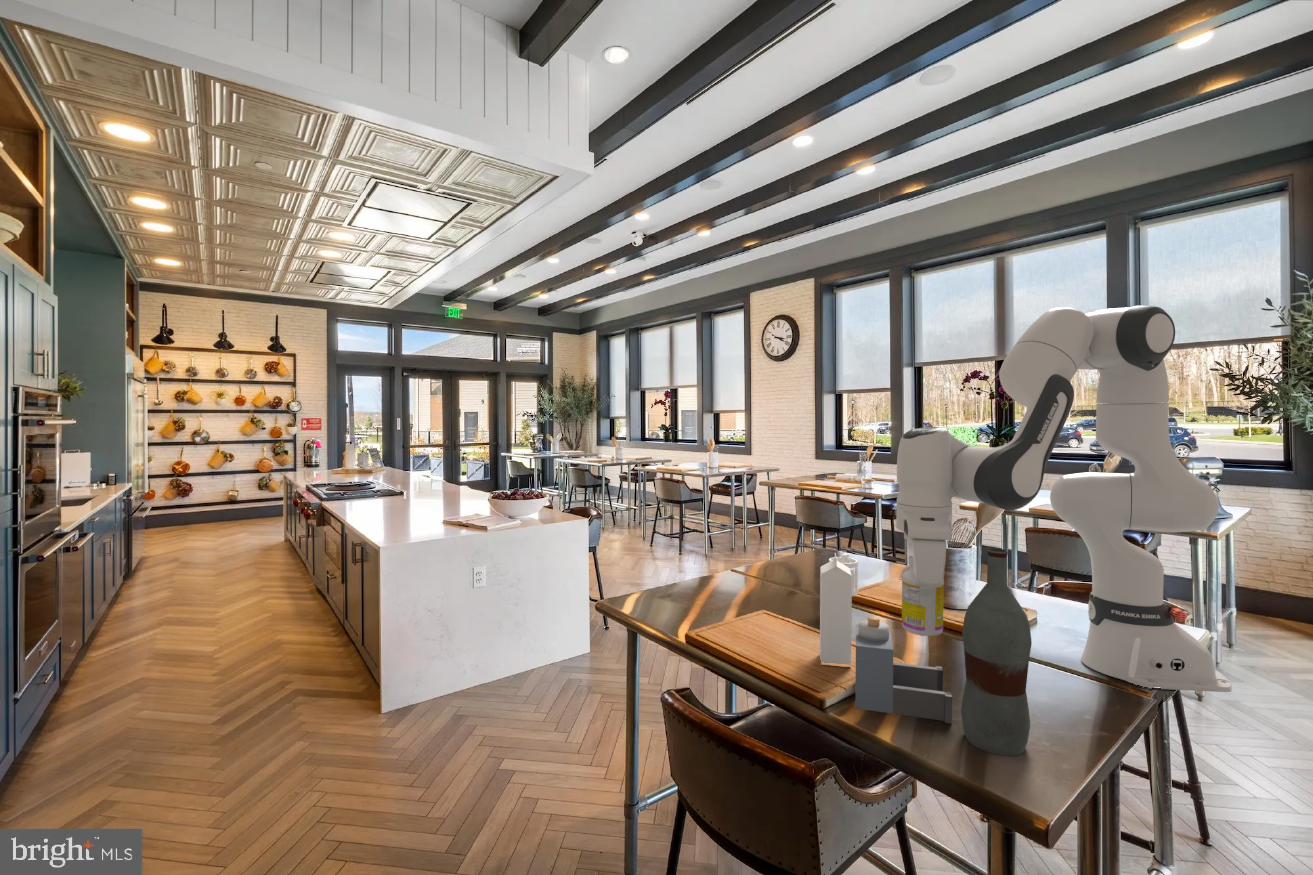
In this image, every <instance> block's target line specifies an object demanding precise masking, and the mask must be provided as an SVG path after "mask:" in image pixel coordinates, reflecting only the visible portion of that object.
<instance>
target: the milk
mask: <svg viewBox="0 0 1313 875" xmlns="http://www.w3.org/2000/svg"><path fill="white" fill-rule="evenodd" d="M834 557H835V560H833V561H831V562H829V561H828V562H827V563H825V564H823V565H821V566H820V569H819V572H820V575H819V583H820V585H819V587H820V588H819V658H820V659H819V660H821V662H824V663H835V664H836V663H837V664H851V665H852V624H853V623H852V621H853V620H852V619H853V618H852V612H853V608H852V607H853V606H852V605H853V604H852V603H853V601H852V598H853V596H852V575H851V571H850V570H851V568H848V567H847V566H845V565H843V564H842V563H843V562H839V561H837V558H836V557H837V554H836V552H834Z"/></svg>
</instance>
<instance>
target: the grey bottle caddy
mask: <svg viewBox="0 0 1313 875" xmlns="http://www.w3.org/2000/svg"><path fill="white" fill-rule="evenodd" d="M855 709H859V710H865V711H873V712H878V713H879V712H880V713H887V714H892V715H893V714H894V715H899V716H901V715H902V716H907V717H913V718H921V719H928V720H935V721H941V722H944V723H945V724H950V725H952V723H953V695H952V693H951V692H949V691H944V670H943V667H942V666H939V665H937V666H935V667H934V666H926V665H918V664H911V663H908V664H907V663H903V662H902V663H900V662H894V645H893V638H892V634H891V628H890V626H889V625H888V624H887V623H885V622H881V619H880V618H879V617H876V616H869V617H867V619H866V620H861V621H859V622H858V624H855Z"/></svg>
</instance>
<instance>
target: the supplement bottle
mask: <svg viewBox="0 0 1313 875" xmlns="http://www.w3.org/2000/svg"><path fill="white" fill-rule="evenodd" d="M907 559H908V558H907ZM908 565H909V569H907V570H905V571H904V572H902V576H901V578H902V580H901V581H902V582H901V585H902V586H901V590H902V591H901V626H902V628H903V629H904V630H905V631H907V632H909V633H910V634H913V635H916V636H917V635H918V636H923V637H934V636H938V635H941V634H942V633H943V630H944V595H945V594H944V592H945V591H944V586H945V580H944V578H943V582H942V585H941V587H934V590H933V595H932V606H931V607H922V606H921V605H920V602H919V594H920V586H919V585H918V584H917V581H916V578H915V576H914V573H913V558H912V556H909V559H908Z"/></svg>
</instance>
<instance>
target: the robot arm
mask: <svg viewBox="0 0 1313 875" xmlns="http://www.w3.org/2000/svg"><path fill="white" fill-rule="evenodd" d="M1175 326H1176V325H1175V323H1174V320H1173V318H1172V317H1171V315H1169V313H1167V311H1166V310H1164V309H1163V308H1162V307H1159V306H1155V305H1154V306H1153V305H1134V306H1131V307H1116V308H1105V309H1099V310H1096V311H1094V312H1093V311H1091V312H1087V313H1085V312H1083V311H1081V310H1078V309H1076V308H1073V307H1064V306H1062V307H1061V306H1060V307H1059V306H1058V307H1055V308H1054V307H1053V308H1051V309H1049V310H1047V311H1046V312H1044V313H1043V314H1042V315H1040V316H1039V317H1038V318H1037V319H1036V320H1034V322H1033V323H1032V324H1031V325H1030V326H1029V327H1028V328H1027V329H1026V330H1025V332H1024V333H1022V335H1021V336H1020V338H1018V340H1017V341H1016V342H1015V344H1014V345H1013V347H1012V348H1011V350H1010V351H1008V354H1007V355H1006V357H1005V358H1004V360H1003V362H1002V364H1001V367H1000V369H999V372H998V373H999V374H998V376H999V382H1000V385H1001V387H1002V389H1003V390H1004V392H1005V393H1006V394H1007V396H1009V397H1010V398H1011V399H1012V400H1013V401H1015V402H1016V403H1018V404H1019V405H1021V406H1023V407H1025V408H1027V409H1026V411H1025V412H1024V414H1023V416H1022V419H1021V421H1020V423H1019V425H1018V427H1017V429H1016V431H1015V433H1014V436H1013V438H1012V439H1011V440H1010V441H1008V442H1007V443H1005V444H1003V445H1001V446H1000V445H999V446H996V447H991V446H990V447H989V446H977V445H970V444H969V443H967V442H963V441H962V440H960V439H958V438H956V437H955V436H954V435H952V434H951V433H950V431H949V429H947V428H946V427H943V426H927V427H926V426H925V427H918V428H913V429H910V430H908V431H907V432H904V434H902V436H901V438H900V441H899V444H898V448H897V449H898V450H897V456H896V458H897V459H896V480H897V483H898V495H897V497H896V518H895V519H896V520H895V521H896V529H897V530H898V531H901V532H902V533H903V538H904V539H905V540H906V541H907V550H906V551H907V559H909V556H912V558H913V573H914V576H915V578H916V581H917V584H918V585H919V586H920V594H919V602H920V605H921V606H922V607H931V606H932V595H933V590H934V587H941V585H942V582H943V579H944V576H945V568H946V557H947V541H950V540H951V538H952V531H953V529H952V528H953V526H952V525H953V523H952V522H953V502H952V499H953V498H955V499H960V500H964V501H968V502H975V503H979V504H986V505H988V506H991V507H994V508H998V509H1001V510H1006V511H1016V510H1020V509H1022V508H1024V507H1026V506H1027V505H1028V504H1030V503H1031V502H1032V501H1033V500H1034V499H1035V498H1036V497H1037V495H1038V494H1039V492H1040V490H1041V488H1042V484H1043V480H1044V476H1045V470H1046V467H1047V463H1048V462H1049V459H1050V457H1051V455H1052V453H1053V451H1054V448H1055V446H1056V444H1057V442H1058V439H1059V437H1060V435H1061V433H1062V430H1063V428H1064V427H1065V424H1066V421H1067V419H1068V418H1069V417H1068V416H1069V414H1070V412H1071V409H1072V406H1073V403H1074V399H1075V391H1074V386H1073V384H1072V383H1071V382H1072V379H1073V378H1074V376H1075V375H1076V373H1077V372H1078V370H1092V371H1093V370H1097V371H1098V372H1099V378H1098V385H1097V388H1096V389H1097V392H1096V403H1095V404H1096V405H1095V408H1096V411H1095V413H1096V414H1095V416H1096V417H1095V439H1096V441H1097V443H1098V445H1099V446H1100V447H1101V448H1103V450H1106V451H1108V452H1109V453H1111V454H1112V455H1116V456H1118V457H1120V458H1124V459H1126V460H1127V461H1130V462H1131V463H1132V464H1133V466H1134V472H1129V473H1121V472H1120V473H1119V472H1099V471H1098V472H1095V471H1093V472H1092V471H1087V472H1077V473H1068V474H1063V475H1062V476H1060V477H1059V478H1058V479H1057V480H1056V481H1055V482H1054V483H1053V485H1052V487H1051V490H1050V496H1049V498H1050V500H1049V501H1050V504H1051V507H1052V510H1053V512H1054V513H1055V514H1056V515H1057V517H1059V519H1061V520H1062V521H1063V522H1065V523H1066V524H1068V525H1069V526H1070V527H1071V528H1073V529H1074V530H1075V532H1077V534H1078V535H1079V536H1080V538H1081V539H1082V540H1083V542H1084V544H1085V546H1086V548H1087V550H1088V554H1089V558H1090V563H1091V565H1090V566H1091V575H1092V576H1091V578H1092V579H1091V580H1092V581H1091V582H1092V583H1091V584H1092V586H1091V587H1092V589H1091V592H1089V598H1088V599H1089V600H1088V603H1087V604H1088V608H1087V609H1088V611H1087V612H1088V619H1089V622H1090V623H1089V630H1088V633H1087V637H1086V638H1087V639H1086V642H1085V646H1084V649H1083V652H1082V654H1081V656H1080V661H1081V662H1082V664H1084V665H1085V666H1087V667H1088V668H1090V669H1092V670H1094V671H1096V672H1099V673H1100V674H1104V675H1107V676H1109V677H1113V678H1115V679H1120V680H1122V681H1126V682H1128V683H1130V684H1132V683H1133V684H1132V685H1135V686H1137V685H1140V686H1143V687H1142V688H1144V687H1161V689H1160V690H1173V691H1174V690H1176V691H1178V690H1179V691H1196V692H1197V691H1198V692H1215V693H1231V692H1232V690H1233V689H1232V683H1231V681H1230V680H1229V679H1228V678H1227V677H1226V676H1224V674H1223V673H1221V672H1220V671H1218V670H1217V669H1216V667H1215V663H1214V659H1213V656H1212V653H1211V652H1210V650H1209V649H1208V648H1207V646H1205V645H1204V644H1203V643H1202V642H1200V641H1199V640H1198V639H1196V638H1195V637H1194V636H1193V635H1191V634H1190V633H1189V632H1187V631H1186V630H1185V629H1183V628H1182V627H1180V626H1179V625H1178V624H1176V623H1175V621H1174V620H1176V621H1178V622H1184V621H1186V620H1187V618H1188V614H1187V612H1186V611H1183V610H1182V609H1180V608H1177V607H1173V606H1171V605H1170V604H1168V603H1166V602H1165V601H1164V581H1165V580H1164V575H1165V569H1164V566H1163V563H1162V562H1161V560H1160V559H1159V558H1158V557H1157V556H1156V555H1154V554H1153V553H1151V552H1149V551H1148V550H1146V549H1144V548H1142V547H1140V546H1137V545H1135V544H1133V543H1132V542H1129V541H1128V540H1127V539H1126V538H1125V537H1124V534H1123V532H1124V531H1126V530H1139V531H1150V532H1162V533H1185V532H1186V533H1187V532H1198V531H1200V532H1201V531H1204V530H1205V529H1207V528H1208V527H1209V526H1211V524H1212V523H1213V522H1214V521H1215V519H1216V518H1217V515H1218V513H1219V500H1218V497H1217V495H1216V492H1215V491H1214V490H1213V489H1212V487H1211V486H1210V485H1209V484H1207V482H1205V481H1204V480H1202V479H1200V478H1199V477H1197V476H1196V475H1194V474H1193V473H1192V472H1190V471H1189V470H1188V469H1187V468H1186V467H1185V466H1184V465H1183V463H1182V462H1181V461H1180V459H1178V457H1177V456H1176V453H1175V452H1174V449H1173V447H1172V444H1171V438H1170V437H1171V436H1170V426H1169V407H1170V406H1169V405H1170V403H1169V402H1170V401H1169V400H1170V394H1169V391H1170V390H1169V380H1168V374H1167V368H1166V362H1165V358H1166V356H1167V355H1168V354H1169V352H1170V351H1171V349H1172V347H1173V345H1174V341H1175V338H1176V327H1175ZM1190 665H1191V666H1190ZM1185 676H1186V677H1185ZM1140 686H1139V687H1140Z"/></svg>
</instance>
